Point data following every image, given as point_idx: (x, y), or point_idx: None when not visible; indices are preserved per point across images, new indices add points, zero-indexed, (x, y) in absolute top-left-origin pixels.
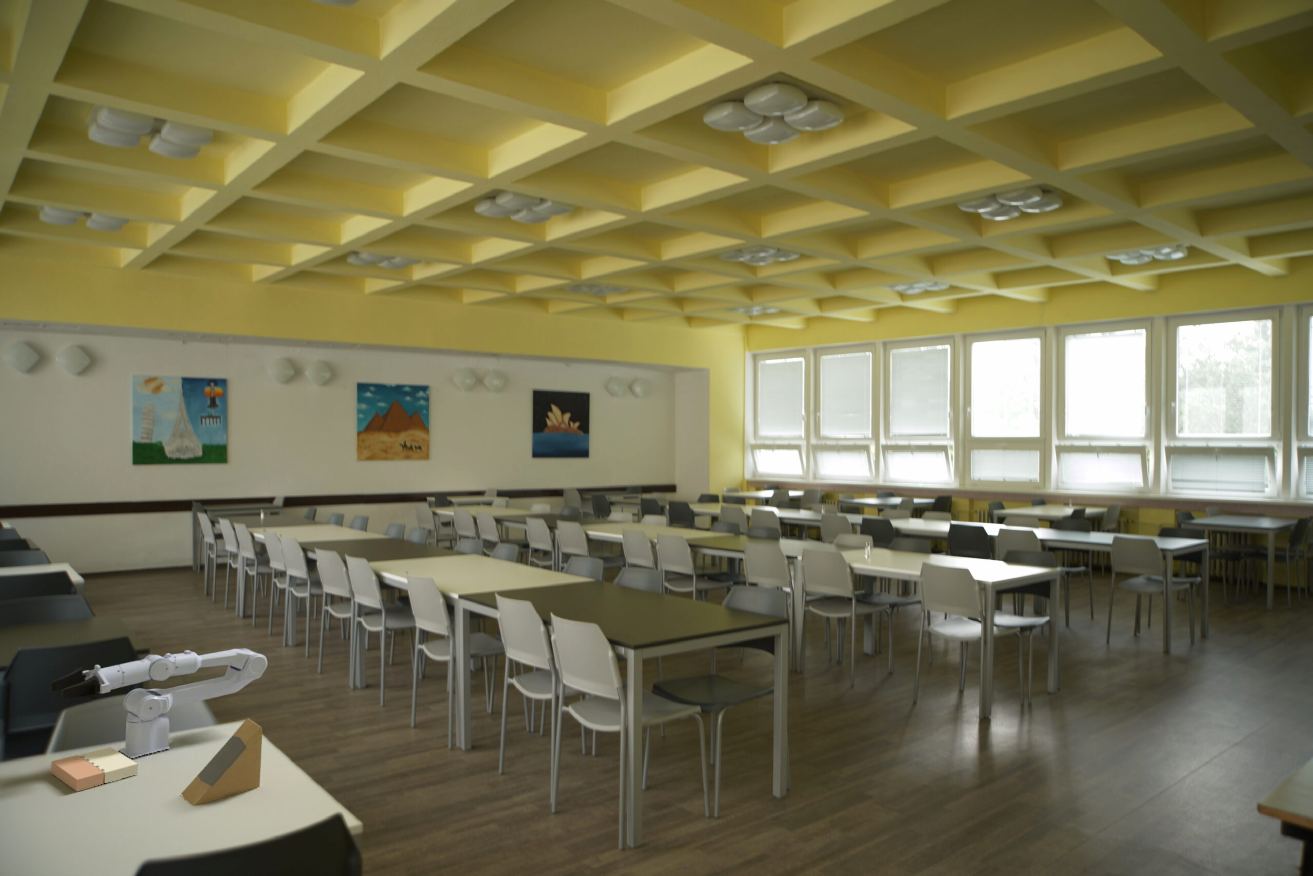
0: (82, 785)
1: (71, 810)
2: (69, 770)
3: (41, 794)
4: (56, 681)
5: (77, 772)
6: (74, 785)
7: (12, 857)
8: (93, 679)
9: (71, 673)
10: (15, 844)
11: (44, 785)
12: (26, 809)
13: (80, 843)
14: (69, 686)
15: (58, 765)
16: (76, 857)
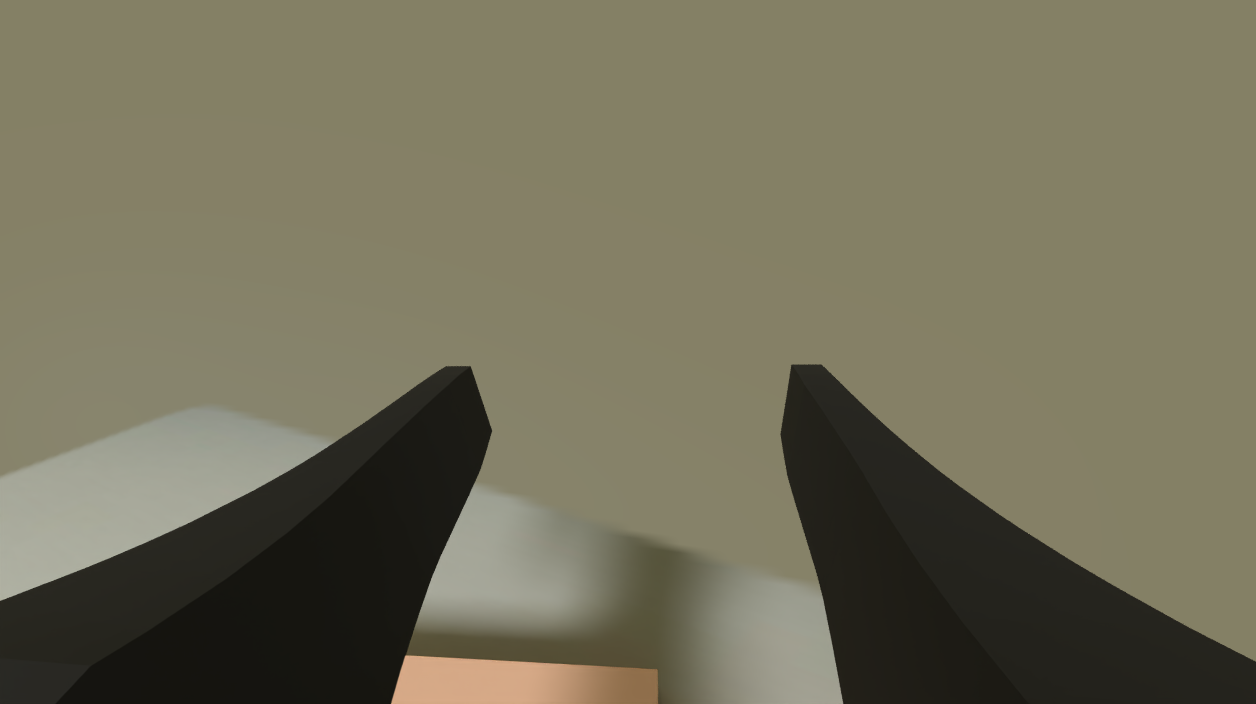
0: None
1: None
2: (464, 676)
3: (473, 572)
4: (804, 393)
5: (404, 693)
6: None
7: (225, 411)
8: (22, 601)
9: (987, 539)
10: (266, 429)
11: (544, 612)
12: None
13: (72, 514)
14: (838, 604)
15: (574, 669)
16: (43, 482)
